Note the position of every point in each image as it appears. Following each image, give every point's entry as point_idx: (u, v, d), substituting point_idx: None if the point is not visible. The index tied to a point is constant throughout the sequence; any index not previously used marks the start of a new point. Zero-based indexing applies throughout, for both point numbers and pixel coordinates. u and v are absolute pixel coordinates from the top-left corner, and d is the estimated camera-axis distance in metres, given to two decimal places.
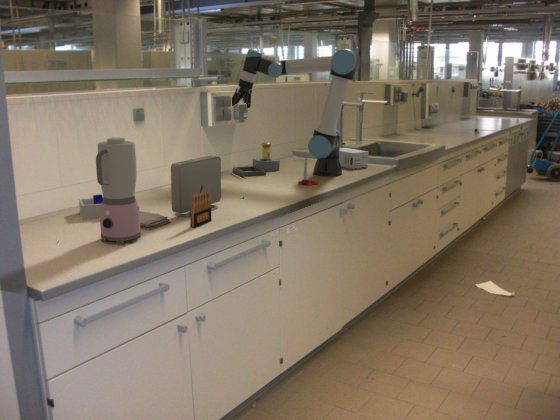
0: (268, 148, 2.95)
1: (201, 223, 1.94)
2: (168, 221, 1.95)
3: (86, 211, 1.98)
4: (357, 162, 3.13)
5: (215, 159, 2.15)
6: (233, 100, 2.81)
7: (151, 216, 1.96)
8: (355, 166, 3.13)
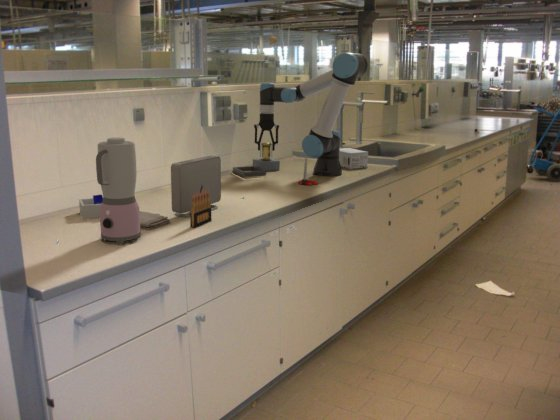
0: (268, 148, 2.95)
1: (201, 223, 1.94)
2: (168, 221, 1.95)
3: (86, 211, 1.98)
4: (355, 162, 3.13)
5: (215, 159, 2.15)
6: None
7: (151, 216, 1.96)
8: (353, 166, 3.13)
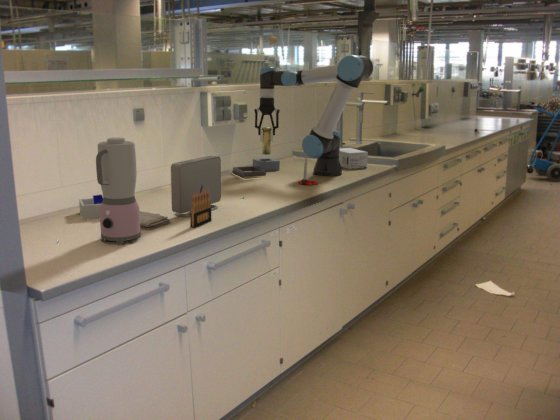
0: (268, 133, 2.93)
1: (201, 223, 1.94)
2: (168, 221, 1.95)
3: (86, 211, 1.98)
4: (354, 162, 3.13)
5: (215, 159, 2.15)
6: (255, 120, 2.93)
7: (151, 216, 1.95)
8: (351, 166, 3.13)
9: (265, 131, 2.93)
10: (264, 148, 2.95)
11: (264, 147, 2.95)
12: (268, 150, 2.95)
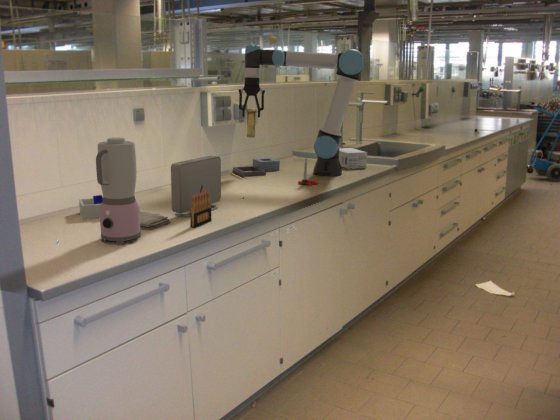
0: (253, 114, 2.80)
1: (201, 223, 1.94)
2: (168, 221, 1.95)
3: (86, 211, 1.98)
4: (353, 162, 3.13)
5: (215, 159, 2.15)
6: (239, 101, 2.80)
7: (151, 216, 1.95)
8: (350, 166, 3.12)
9: (249, 113, 2.80)
10: (248, 131, 2.82)
11: (248, 129, 2.82)
12: (252, 133, 2.82)
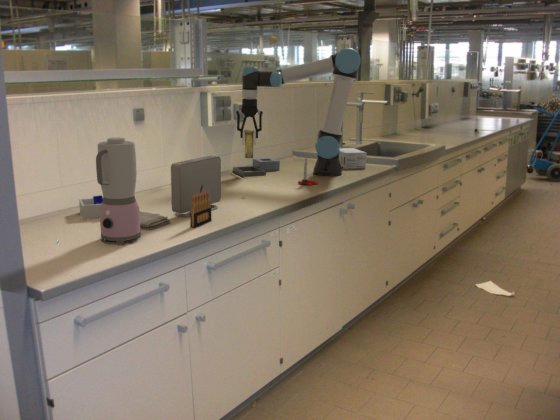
0: (251, 135, 2.81)
1: (201, 223, 1.94)
2: (168, 221, 1.95)
3: (86, 211, 1.98)
4: (351, 162, 3.12)
5: (215, 159, 2.15)
6: (237, 123, 2.81)
7: (151, 216, 1.95)
8: (348, 166, 3.13)
9: (247, 134, 2.80)
10: (246, 151, 2.83)
11: (246, 150, 2.83)
12: (251, 154, 2.83)
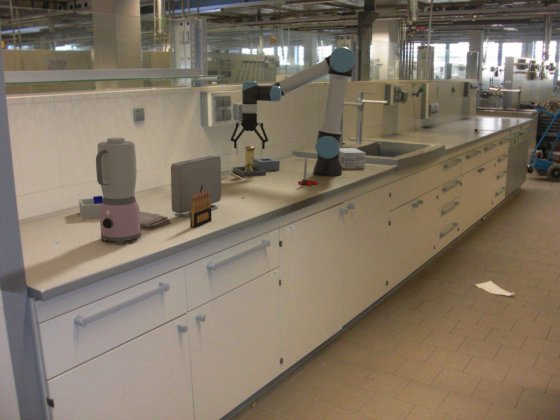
0: (252, 152, 2.83)
1: (201, 223, 1.94)
2: (168, 221, 1.95)
3: (86, 211, 1.98)
4: (349, 162, 3.12)
5: (215, 159, 2.15)
6: None
7: (151, 216, 1.95)
8: (346, 166, 3.13)
9: (248, 150, 2.82)
10: (247, 168, 2.85)
11: (247, 167, 2.85)
12: (251, 170, 2.85)
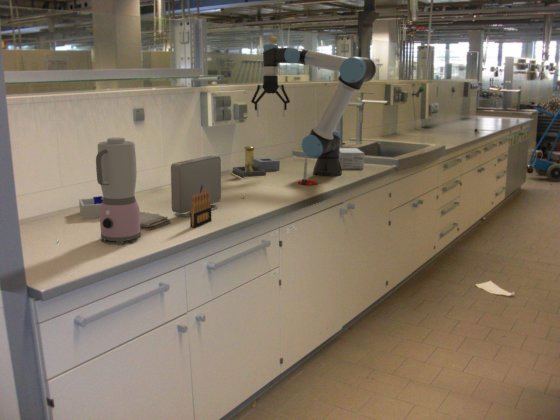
0: (251, 152, 2.83)
1: (201, 223, 1.94)
2: (168, 221, 1.94)
3: (86, 211, 1.98)
4: (348, 162, 3.13)
5: (215, 159, 2.15)
6: None
7: (151, 216, 1.95)
8: (344, 166, 3.13)
9: (248, 150, 2.82)
10: (247, 168, 2.85)
11: (247, 167, 2.85)
12: (251, 170, 2.85)
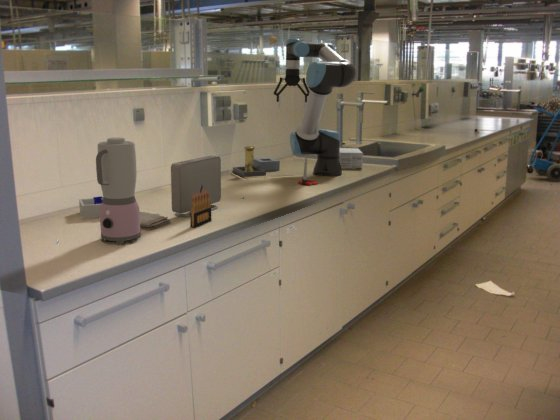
0: (251, 152, 2.83)
1: (201, 223, 1.94)
2: (168, 221, 1.94)
3: (86, 211, 1.98)
4: (346, 162, 3.13)
5: (215, 159, 2.15)
6: (276, 88, 3.03)
7: (151, 216, 1.95)
8: (343, 166, 3.13)
9: (248, 150, 2.82)
10: (247, 168, 2.85)
11: (247, 167, 2.85)
12: (251, 170, 2.85)
